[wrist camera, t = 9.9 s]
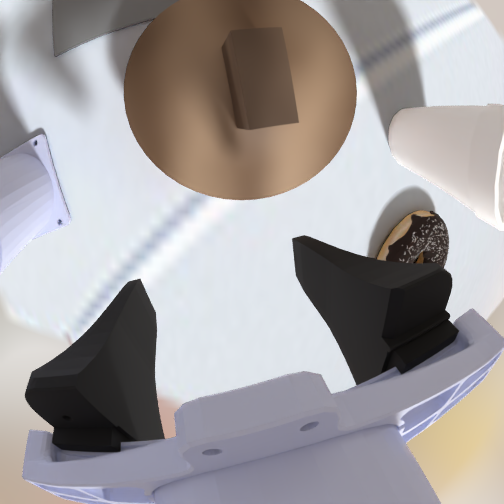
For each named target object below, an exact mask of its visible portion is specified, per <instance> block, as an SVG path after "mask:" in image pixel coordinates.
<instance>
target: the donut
mask: <svg viewBox="0 0 504 504" xmlns="http://www.w3.org/2000/svg"><path fill="white" fill-rule="evenodd" d="M448 236H449V235H448V230H447V227H446V225H445V223H444V221H443V220H442V219H441V218H440V216H439V215H438V214H436V213H434V212H433V211H430V212H428V211H420V210H419V211H415V212H413V213H411V214H410V215H408V216H406V217H405V218H404V219H403V220H402V221H401V222H400V223H399V224H398V225H397V226H396V227H395V228H394V229H393V231H392V232H391V234H390V235H389V237H388V238H387V240H386V241H385V243H384V244H383V246H382V248H381V250H380V253H379V255H378V257H377V259H378V260H384V261H391V262H400V263H413V262H414V260H415V259H416V258H417V256H418V254H419V258H418V260H417V262H416V263H437V264H439V265H440V266H441V267H443V268H444V266H445V263H446V260H447V254H448V249H449V237H448Z"/></svg>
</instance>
